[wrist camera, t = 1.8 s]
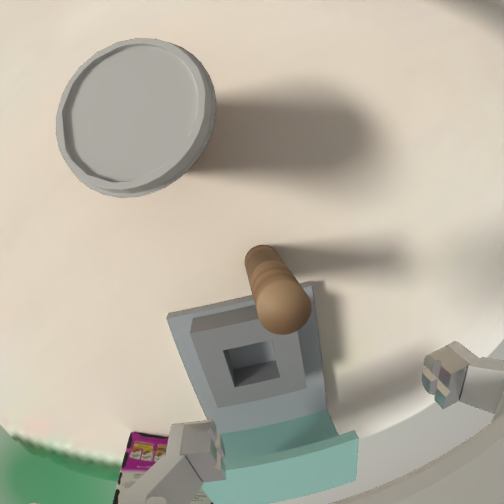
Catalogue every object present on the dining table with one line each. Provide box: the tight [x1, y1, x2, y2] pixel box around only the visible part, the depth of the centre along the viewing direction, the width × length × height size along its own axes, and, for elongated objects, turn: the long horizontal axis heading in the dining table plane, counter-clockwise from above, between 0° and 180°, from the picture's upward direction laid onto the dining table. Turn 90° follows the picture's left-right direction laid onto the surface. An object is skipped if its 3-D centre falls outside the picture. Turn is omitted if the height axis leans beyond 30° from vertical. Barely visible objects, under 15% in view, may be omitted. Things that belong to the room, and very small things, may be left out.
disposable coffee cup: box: [56, 38, 216, 198], centre depth 19 cm, size 10×10×12 cm
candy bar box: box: [113, 432, 213, 504], centre depth 25 cm, size 11×5×16 cm, turn 82°
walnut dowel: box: [245, 245, 312, 335], centre depth 23 cm, size 3×3×11 cm
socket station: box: [166, 282, 358, 504], centre depth 25 cm, size 18×14×12 cm
